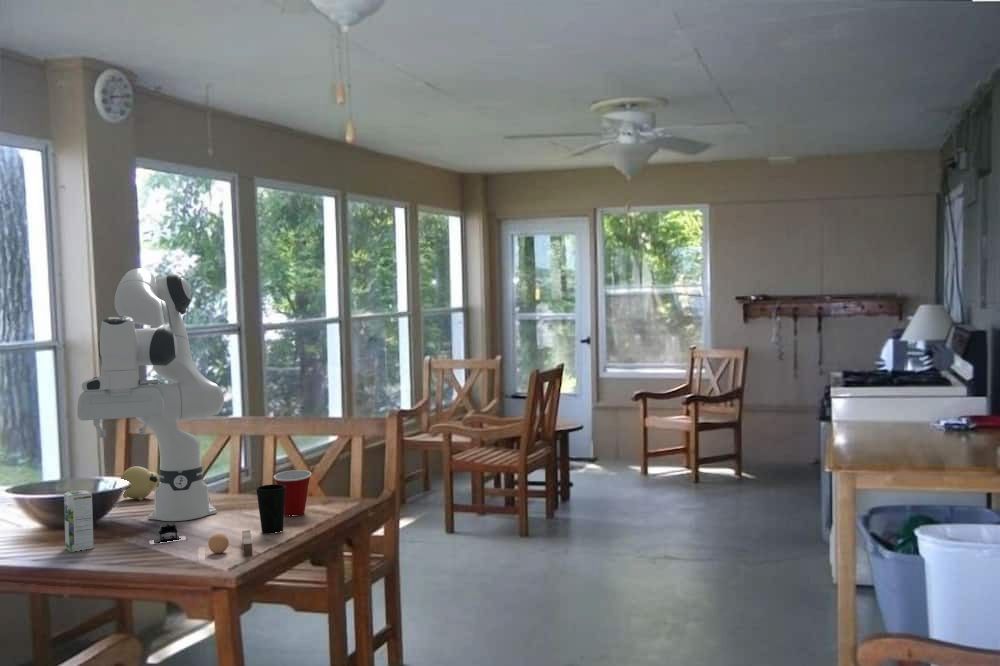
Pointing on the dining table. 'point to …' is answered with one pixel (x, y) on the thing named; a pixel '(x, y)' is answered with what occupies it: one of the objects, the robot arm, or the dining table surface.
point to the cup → (271, 507)
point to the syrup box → (78, 520)
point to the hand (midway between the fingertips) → (122, 436)
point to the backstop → (247, 543)
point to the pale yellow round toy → (140, 482)
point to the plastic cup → (294, 490)
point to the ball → (218, 543)
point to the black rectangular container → (167, 529)
